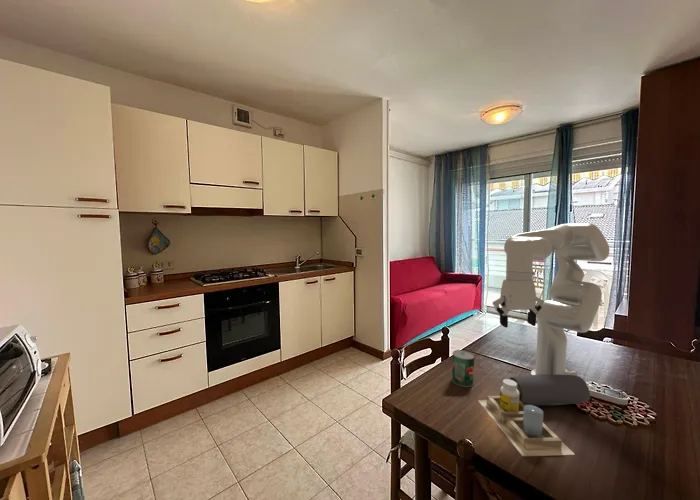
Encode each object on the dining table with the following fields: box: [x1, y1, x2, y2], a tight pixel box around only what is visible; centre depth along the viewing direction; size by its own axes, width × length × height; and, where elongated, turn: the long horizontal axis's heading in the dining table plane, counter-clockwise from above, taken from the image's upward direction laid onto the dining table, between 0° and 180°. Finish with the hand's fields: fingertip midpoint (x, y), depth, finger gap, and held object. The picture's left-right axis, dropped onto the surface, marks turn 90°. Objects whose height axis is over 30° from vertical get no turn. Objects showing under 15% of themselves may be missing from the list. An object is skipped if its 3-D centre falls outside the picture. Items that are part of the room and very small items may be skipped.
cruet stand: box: [477, 395, 576, 457], centre depth 85 cm, size 24×14×4 cm, turn 2°
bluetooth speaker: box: [508, 374, 591, 406], centre depth 96 cm, size 23×9×10 cm, turn 93°
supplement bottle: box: [499, 378, 519, 412], centre depth 91 cm, size 5×5×10 cm
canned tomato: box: [451, 349, 475, 388], centre depth 111 cm, size 8×8×11 cm
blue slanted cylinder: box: [523, 405, 544, 438], centre depth 80 cm, size 5×5×8 cm
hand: (517, 325), depth 97 cm, fingers open, 9 cm apart
